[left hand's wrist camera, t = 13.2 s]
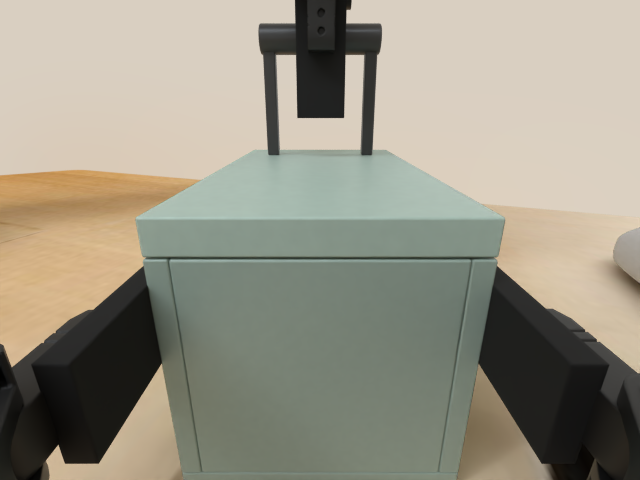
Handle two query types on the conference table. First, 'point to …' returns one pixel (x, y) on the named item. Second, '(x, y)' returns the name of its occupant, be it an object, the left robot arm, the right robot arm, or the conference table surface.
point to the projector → (628, 253)
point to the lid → (320, 193)
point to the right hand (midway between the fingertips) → (320, 116)
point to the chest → (320, 363)
